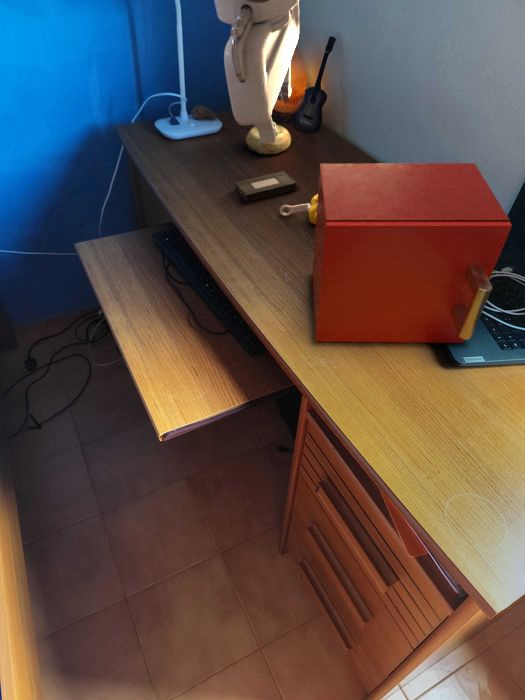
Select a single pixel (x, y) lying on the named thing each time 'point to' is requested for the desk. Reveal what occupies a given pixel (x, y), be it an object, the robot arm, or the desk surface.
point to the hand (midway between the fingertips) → (277, 117)
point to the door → (406, 280)
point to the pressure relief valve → (304, 209)
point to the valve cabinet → (399, 199)
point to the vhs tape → (265, 186)
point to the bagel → (270, 148)
